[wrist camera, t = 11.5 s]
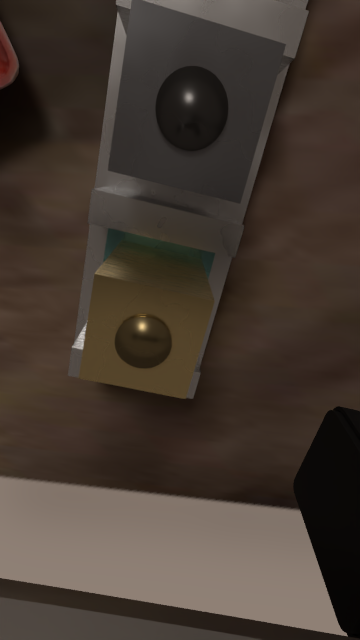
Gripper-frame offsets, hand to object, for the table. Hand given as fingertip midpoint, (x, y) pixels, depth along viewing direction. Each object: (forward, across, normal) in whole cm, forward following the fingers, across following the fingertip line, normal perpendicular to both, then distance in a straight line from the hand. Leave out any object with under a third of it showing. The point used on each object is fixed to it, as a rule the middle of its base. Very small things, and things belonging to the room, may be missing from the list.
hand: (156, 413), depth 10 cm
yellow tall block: (+11, +1, 0) cm, 11 cm away
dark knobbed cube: (+11, +1, -8) cm, 14 cm away
